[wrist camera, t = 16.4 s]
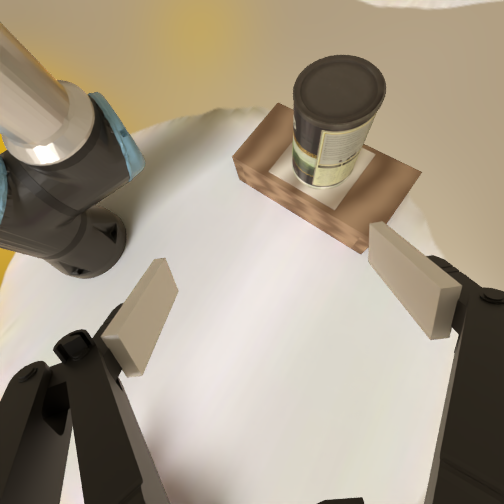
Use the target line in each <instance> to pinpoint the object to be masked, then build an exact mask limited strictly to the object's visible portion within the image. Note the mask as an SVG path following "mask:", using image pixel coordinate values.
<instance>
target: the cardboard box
mask: <svg viewBox="0 0 504 504" xmlns="http://www.w3.org/2000/svg"><path fill="white" fill-rule="evenodd" d="M293 114H294V110H292V109H290V108H288V107H286V106H284V105H282V104H280V103H277V104H276V106H275V107H274V108H273V109H272V110H271V111H270V112H269V114H268V115H267V116H266V117H265V118H264V120H263V121H262V122H261V123H260V124H259V125H258V127H257V128H256V129H255V130H254V131H253V133H252V134H251V135H250V136H249V137H248V138H247V140H246V141H245V142H244V143H243V144H242V146H241V147H240V148H239V149H238V150H237V151H236V153H235V154H234V155H233V156H232V158H233V161H234V164H235V167H236V170H237V173H238V176H239V179H240V180H241V181H243V182H244V183H246V184H248V185H249V186H251V187H252V188H254V189H256V190H257V191H259V192H261V193H262V194H264V195H265V196H267V197H269V198H270V199H272V200H274V201H275V202H277V203H278V204H280V205H282V206H283V207H285V208H286V209H288V210H290V211H291V212H293V213H295V214H296V215H298V216H299V217H301V218H303V219H304V220H306V221H308V222H309V223H311V224H312V225H314V226H316V227H317V228H319V229H320V230H322V231H324V232H325V233H327V234H329V235H330V236H332V237H333V238H335V239H337V240H338V241H340V242H342V243H343V244H345V245H346V246H348V247H350V248H351V249H353V250H355V251H356V252H358V253H359V254H362V253H363V252H364V251H365V250H366V249H367V248H368V247H369V225H370V223H376V222H382V221H383V222H384V223H385V224H387V222H388V221H389V219H390V218H391V217H392V215H393V214H394V212H395V211H396V209H397V208H398V206H399V205H400V203H401V202H402V201H403V199H404V198H405V196H406V195H407V193H408V192H409V190H410V189H411V187H412V186H413V184H414V183H415V182H416V180H417V179H418V177H419V176H420V174H421V173H422V172H421V171H419V170H416V169H414V168H412V167H410V166H408V165H406V164H404V163H402V162H400V161H398V160H396V159H394V158H391V157H390V156H387V155H385V154H383V153H381V152H379V151H377V150H375V149H373V148H371V147H369V146H367V145H365V144H363V146H362V148H361V151H360V153H359V155H358V158H357V160H356V162H355V165H354V168H353V171H352V173H351V175H350V176H349V178H348V179H347V180H346V181H345V182H343V183H342V184H340V185H339V186H337V187H334V188H330V189H314V188H311V187H308V186H306V185H304V184H303V183H301V182H300V181H299V180H298V179H297V178H296V176H295V175H294V172H293V169H292V151H293Z"/></svg>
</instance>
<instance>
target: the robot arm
mask: <svg viewBox="0 0 504 504" xmlns="http://www.w3.org/2000/svg"><path fill="white" fill-rule="evenodd" d="M0 134H2V139H3V142H4V144H5V146H6V148H7V150H6V151H5V152H3V153H1V154H0V248H3V249H7V250H11V251H15V252H18V253H22V254H26V255H30V256H34V257H38V258H41V259H44V260H45V261H47V262H48V263H50V264H51V265H52V266H54V267H55V268H56V269H58V270H59V271H61V272H62V273H64V274H66V275H69V276H72V277H77V278H82V279H87V278H93V277H96V276H99V275H101V274H103V273H105V272H106V271H108V270H109V269H110V268H111V267H112V266H113V265H114V264H115V263H116V262H117V261H118V259H119V258H120V256H121V254H122V252H123V250H124V247H125V242H126V231H125V227H124V224H123V222H122V221H121V219H120V218H119V217H118V216H117V215H115V214H114V213H112V212H111V211H109V210H108V209H106V208H103V207H100V206H95V204H97V203H98V202H100V201H101V200H103V199H104V198H106V197H107V196H109V195H110V194H112V193H113V192H115V191H116V190H117V189H119V188H120V187H122V186H123V185H125V184H126V183H128V182H130V181H132V178H134V177H135V176H136V175H137V174H139V173H140V172H141V171H142V170H143V169H144V167H145V160H144V157H143V155H142V153H141V152H140V150H139V148H138V147H137V145H136V143H135V142H134V140H133V139H132V137H131V136H130V134H129V133H128V132H127V130H126V129H125V127H124V125H123V124H122V122H121V120H120V119H119V117H118V116H117V114H116V113H115V112H114V110H113V109H112V107H111V106H110V104H109V103H108V102H107V100H106V99H105V98H104V97H103V95H101V94H100V93H98V92H95V93H89V94H88V95H87V94H86V93H85V92H84V91H83V90H82V89H81V88H79V87H78V86H77V85H75V84H73V83H70V82H67V81H61V80H56V79H55V78H54V77H53V76H52V75H51V74H50V73H49V72H48V71H47V70H46V69H45V68H44V67H43V66H42V65H41V64H40V63H39V62H38V61H37V59H36V58H35V57H34V56H33V55H31V53H30V52H29V51H28V50H27V49H26V48H25V47H24V46H23V45H22V44H21V43H20V42H19V41H18V40H17V39H16V38H15V37H14V36H13V35H12V34H11V33H10V32H9V31H8V29H7V28H6V27H5V26H4V25H3V24H2V23H1V22H0ZM368 262H369V263H370V265H371V266H372V267H373V268H374V270H375V271H376V272H377V273H378V275H379V276H380V277H381V278H382V280H383V281H384V282H385V283H386V285H387V286H388V287H389V289H390V290H391V291H392V292H393V294H394V295H395V296H396V297H397V299H398V300H399V301H400V302H401V304H402V305H403V306H404V307H405V309H406V310H407V311H408V312H409V314H410V315H411V316H412V317H413V319H414V320H415V321H416V322H417V324H418V325H419V326H420V327H421V329H422V330H423V331H424V332H425V334H426V335H427V336H428V337H429V339H430V340H434V339H443V338H449V337H450V333H451V329H452V328H453V329H454V330H455V331H456V332H457V333H458V334H459V336H458V340H457V343H456V347H455V351H454V353H455V354H454V359H453V364H452V369H451V374H450V379H449V384H448V389H447V394H446V399H445V404H444V409H443V414H442V418H441V423H440V428H439V433H438V438H437V443H436V448H435V453H434V458H433V463H432V468H431V473H430V478H429V483H428V488H427V492H426V497H425V502H424V504H504V292H503V291H500V290H497V289H493V288H482V287H480V286H479V285H478V284H477V283H475V282H474V281H472V280H471V279H469V277H467V276H466V275H464V274H463V273H461V272H459V270H458V269H456V268H455V267H453V266H452V265H451V264H450V263H448V262H447V261H446V260H444V259H442V258H439V257H437V256H434V255H432V256H425V255H424V254H422V253H421V252H420V251H419V250H417V249H416V248H415V247H414V246H412V245H411V244H410V243H409V242H407V241H406V240H405V239H404V238H402V237H401V236H400V235H399V234H398V233H396V232H395V231H394V230H393V229H391V228H390V227H389V226H388V225H386V224H385V223H384V222H383V221H382V222H376V223H370V225H369V254H368ZM177 293H178V288H177V286H176V283H175V281H174V279H173V276H172V274H171V271H170V269H169V266H168V264H167V261H166V259H165V258H160V259H154V260H153V262H152V263H151V265H150V266H149V268H148V269H147V271H146V272H145V273H144V275H143V276H142V278H141V279H140V281H139V282H138V283H137V285H136V286H135V288H134V289H133V291H132V292H131V294H130V295H129V296H128V298H127V299H126V301H125V302H124V303H122V304H120V305H118V306H117V307H116V308H115V309H114V310H113V311H112V312H111V313H110V315H109V316H108V317H107V318H108V319H106V320H105V322H104V323H103V325H102V326H101V327H100V328H99V330H98V331H97V333H96V334H95V335H94V337H93V338H91V336H90V335H89V333H88V332H87V331H86V330H83V329H81V330H76V331H74V332H71V333H69V334H67V335H66V336H64V337H63V338H62V339H60V340H59V341H58V342H57V343H56V345H55V346H54V349H53V351H54V352H55V354H56V355H57V356H58V357H59V359H60V360H61V361H62V363H59V364H57V365H54V366H51V367H49V366H48V365H47V364H46V363H45V362H44V361H37V362H34V363H31V364H29V365H28V366H25V367H24V368H23V369H21V370H20V371H18V372H17V373H16V374H15V375H14V376H13V377H12V379H11V380H10V382H9V384H8V386H7V388H6V390H5V392H4V395H3V397H2V399H1V401H0V504H59V503H60V497H61V491H62V485H63V480H64V474H65V468H66V462H67V456H68V450H69V444H70V438H71V432H72V426H73V430H74V436H75V443H76V450H77V457H78V463H79V470H80V477H81V483H82V490H83V497H84V504H170V502H169V500H168V497H167V495H166V492H165V490H164V487H163V485H162V482H161V480H160V477H159V475H158V472H157V470H156V467H155V465H154V462H153V460H152V457H151V455H150V452H149V450H148V447H147V445H146V442H145V440H144V437H143V435H142V432H141V430H140V427H139V425H138V422H137V420H136V417H135V415H134V412H133V410H132V408H131V405H130V403H129V400H128V398H127V395H126V393H125V390H124V388H123V385H122V383H121V381H120V379H119V378H118V376H119V374H120V372H121V370H123V372H124V373H125V375H126V377H127V378H128V377H136V376H142V375H143V373H144V371H145V368H146V366H147V364H148V361H149V359H150V357H151V354H152V352H153V349H154V347H155V345H156V342H157V340H158V338H159V335H160V333H161V331H162V328H163V326H164V324H165V321H166V319H167V317H168V314H169V312H170V310H171V307H172V305H173V303H174V300H175V298H176V296H177ZM318 504H364V501H363V498H362V497H361V498H347V499H333V500H324V501H322V502H320V503H318Z"/></svg>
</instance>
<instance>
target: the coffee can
mask: <svg viewBox="0 0 504 504" xmlns="http://www.w3.org/2000/svg"><path fill="white" fill-rule="evenodd" d="M385 94H386V83H385V79H384V77H383V75H382V73H381V72H380V71H379V69H378V68H377V67H375V66H374V65H373V64H372V63H370V62H369V61H367V60H365V59H362V58H360V57H356V56H350V55H334V56H328V57H325V58H323V59H319V60H317V61H315V62H313V63H312V64H310V65H309V66H307V67H306V68H305V69H304V70H303V71H302V72H301V73H300V75H299V76H298V78H297V80H296V82H295V85H294V88H293V100H294V114H293V151H292V169H293V172H294V175H295V176H296V178H297V179H298V180H299V181H300V182H301V183H303V184H304V185H306V186H308V187H311V188H314V189H330V188H334V187H337V186H339V185H340V184H342V183H343V182H345V181H346V180H347V179H348V178H349V176H350V175H351V173H352V171H353V168H354V165H355V162H356V160H357V158H358V155H359V153H360V151H361V148H362V146H363V144H364V141H365V139H366V137H367V134H368V132H369V130H370V127H371V125H372V123H373V120H374V118H375V115H376V113H377V111H378V109H379V108H380V106H381V104H382V102H383V100H384V97H385Z"/></svg>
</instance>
